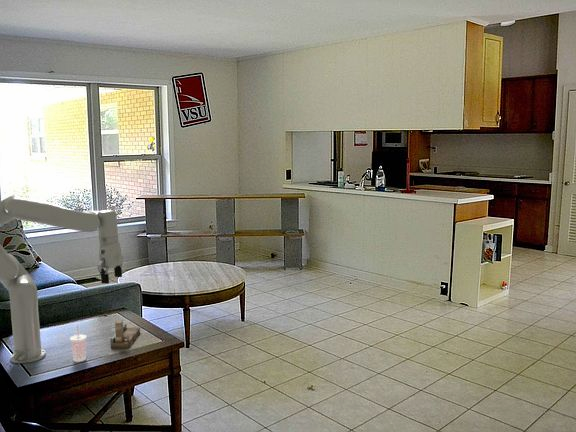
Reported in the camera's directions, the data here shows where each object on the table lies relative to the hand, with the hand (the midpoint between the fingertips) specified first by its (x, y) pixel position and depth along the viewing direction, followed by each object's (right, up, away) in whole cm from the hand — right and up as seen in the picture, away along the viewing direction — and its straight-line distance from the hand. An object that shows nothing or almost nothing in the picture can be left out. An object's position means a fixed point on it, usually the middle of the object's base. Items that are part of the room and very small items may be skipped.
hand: (112, 279), depth 222 cm
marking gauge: (+5, -25, -1) cm, 25 cm away
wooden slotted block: (+4, -26, +5) cm, 27 cm away
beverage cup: (-8, -29, -15) cm, 34 cm away
